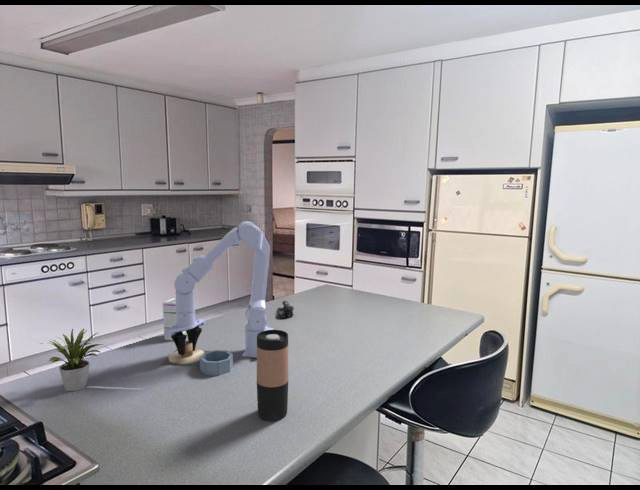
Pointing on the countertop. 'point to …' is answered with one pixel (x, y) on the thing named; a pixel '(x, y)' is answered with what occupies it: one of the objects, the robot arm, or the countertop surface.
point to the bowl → (216, 362)
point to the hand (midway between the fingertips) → (186, 352)
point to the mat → (181, 365)
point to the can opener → (286, 310)
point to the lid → (186, 355)
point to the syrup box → (170, 315)
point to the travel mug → (272, 374)
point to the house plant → (74, 361)
